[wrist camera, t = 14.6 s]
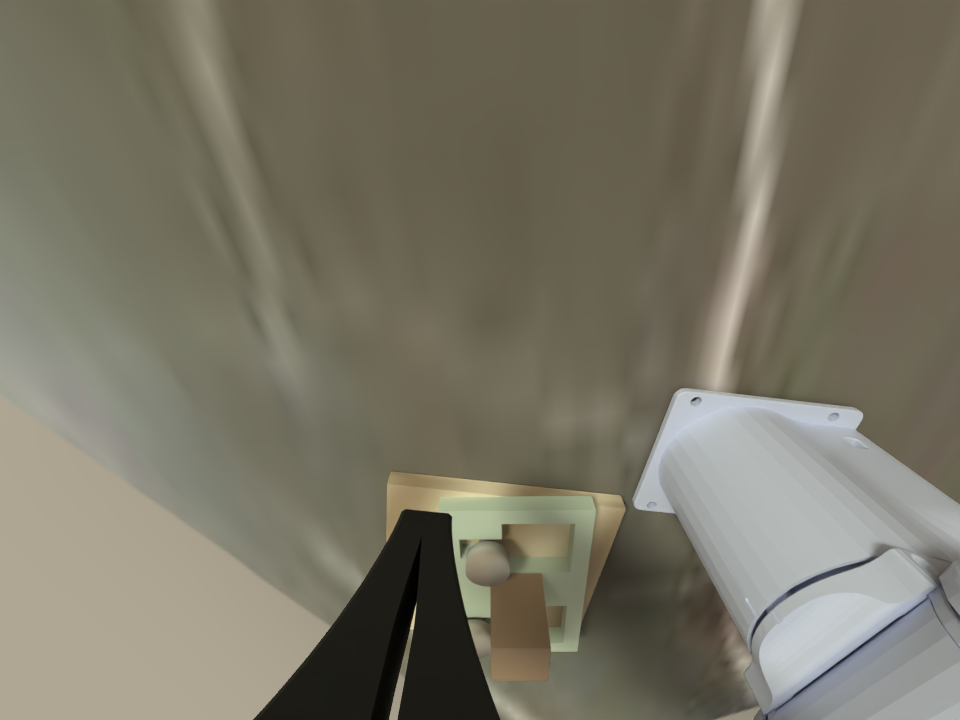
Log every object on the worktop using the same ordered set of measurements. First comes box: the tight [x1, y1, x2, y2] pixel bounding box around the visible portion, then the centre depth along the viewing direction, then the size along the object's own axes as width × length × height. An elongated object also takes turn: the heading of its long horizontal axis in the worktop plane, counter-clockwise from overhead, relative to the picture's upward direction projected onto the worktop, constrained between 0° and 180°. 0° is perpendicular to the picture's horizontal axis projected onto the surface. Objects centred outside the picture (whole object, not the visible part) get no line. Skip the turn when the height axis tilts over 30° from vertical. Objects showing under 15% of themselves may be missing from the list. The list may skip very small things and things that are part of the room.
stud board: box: [386, 471, 626, 658], centre depth 24 cm, size 13×13×3 cm
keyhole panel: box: [438, 496, 596, 681], centre depth 22 cm, size 8×13×5 cm, turn 2°
